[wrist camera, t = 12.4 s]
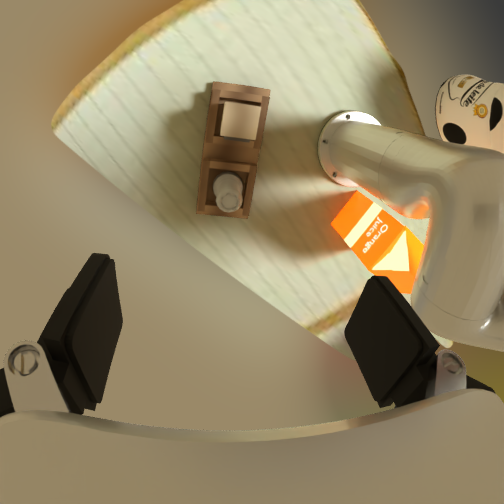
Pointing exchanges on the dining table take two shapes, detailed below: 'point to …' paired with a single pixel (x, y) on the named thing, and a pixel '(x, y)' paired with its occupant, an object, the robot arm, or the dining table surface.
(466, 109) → the milk container
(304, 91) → the dining table surface
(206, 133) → the wooden compartment tray
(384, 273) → the orange juice
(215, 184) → the rook chess piece
